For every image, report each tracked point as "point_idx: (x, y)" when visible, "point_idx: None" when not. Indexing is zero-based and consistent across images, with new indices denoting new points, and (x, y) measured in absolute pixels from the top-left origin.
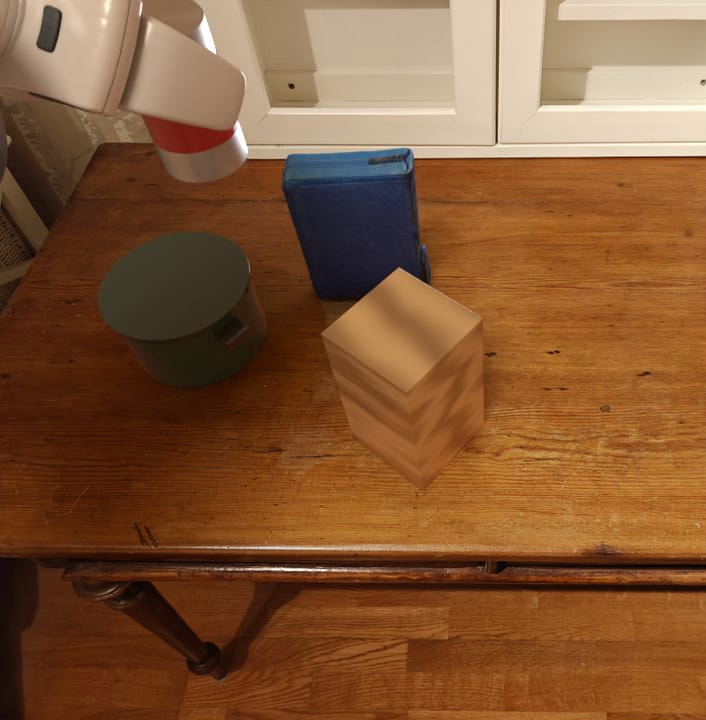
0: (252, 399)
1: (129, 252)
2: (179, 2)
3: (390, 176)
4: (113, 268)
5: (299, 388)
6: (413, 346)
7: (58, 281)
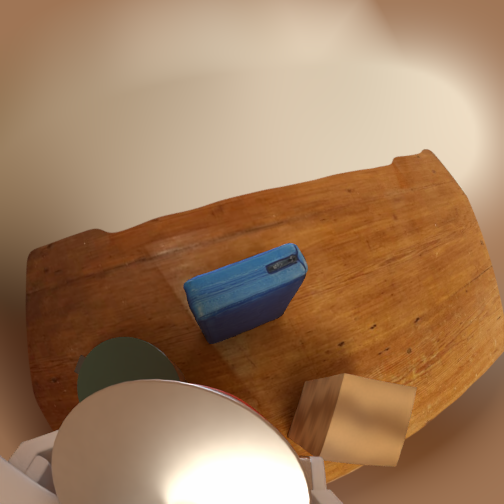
0: None
1: (80, 369)
2: (176, 410)
3: (293, 280)
4: (79, 387)
5: None
6: (387, 434)
7: (42, 364)
